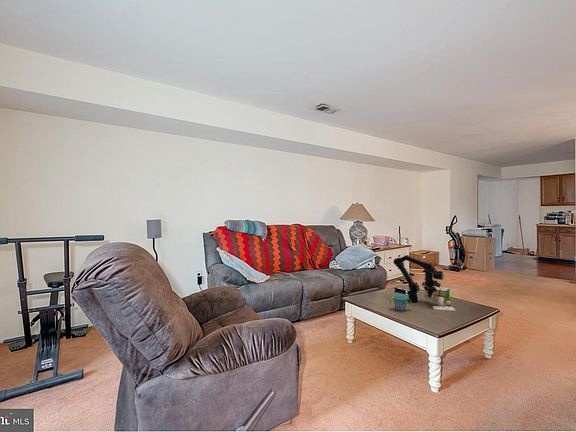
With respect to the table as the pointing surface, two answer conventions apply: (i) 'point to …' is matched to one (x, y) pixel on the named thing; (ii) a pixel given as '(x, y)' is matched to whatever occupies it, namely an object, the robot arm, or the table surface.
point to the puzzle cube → (442, 294)
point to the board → (443, 308)
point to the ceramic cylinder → (440, 301)
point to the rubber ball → (448, 303)
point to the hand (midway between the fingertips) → (429, 296)
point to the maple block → (427, 295)
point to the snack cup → (400, 302)
